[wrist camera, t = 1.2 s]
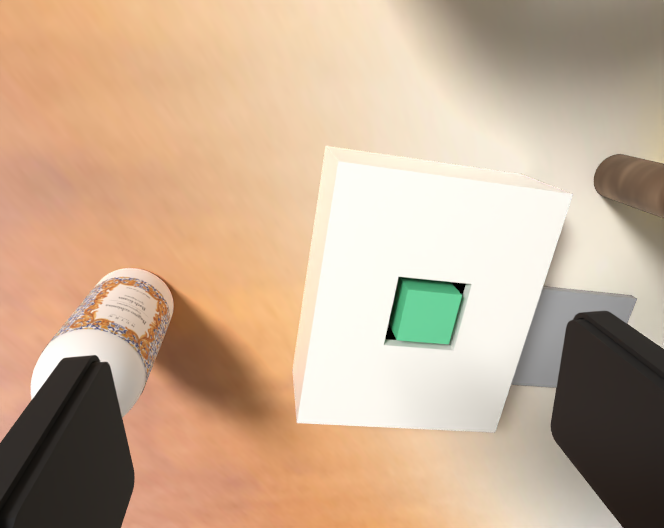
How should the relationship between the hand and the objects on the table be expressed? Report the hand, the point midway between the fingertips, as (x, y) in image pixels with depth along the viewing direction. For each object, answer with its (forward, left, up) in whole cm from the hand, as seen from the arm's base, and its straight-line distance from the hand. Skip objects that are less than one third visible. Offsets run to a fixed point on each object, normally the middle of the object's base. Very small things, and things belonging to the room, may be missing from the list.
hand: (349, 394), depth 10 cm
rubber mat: (+15, +31, -34) cm, 48 cm away
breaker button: (+10, +12, -29) cm, 33 cm away
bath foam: (+15, -12, -34) cm, 39 cm away
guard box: (+10, +12, -34) cm, 37 cm away
